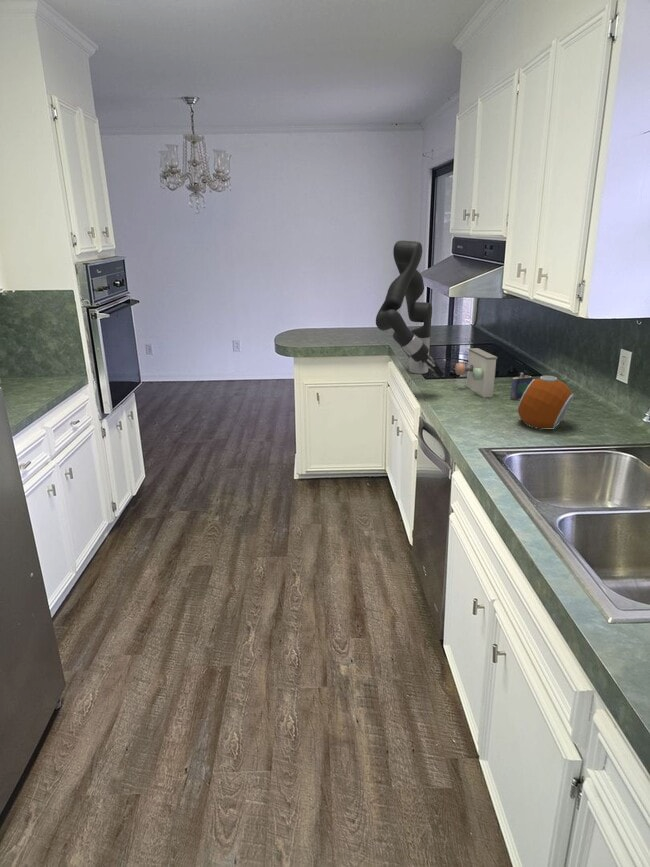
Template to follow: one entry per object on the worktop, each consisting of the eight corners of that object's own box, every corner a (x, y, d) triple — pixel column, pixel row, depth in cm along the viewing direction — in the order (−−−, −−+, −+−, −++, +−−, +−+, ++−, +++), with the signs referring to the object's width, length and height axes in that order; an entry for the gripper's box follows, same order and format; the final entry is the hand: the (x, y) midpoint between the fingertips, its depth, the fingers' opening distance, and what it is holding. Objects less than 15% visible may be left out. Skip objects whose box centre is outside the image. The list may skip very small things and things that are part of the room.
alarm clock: (525, 413, 221) (531, 368, 215) (574, 421, 211) (581, 374, 205) (509, 426, 206) (514, 379, 200) (560, 436, 196) (567, 386, 190)
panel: (465, 385, 258) (468, 348, 252) (474, 385, 259) (477, 348, 253) (483, 397, 240) (487, 357, 235) (493, 397, 241) (497, 357, 235)
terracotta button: (454, 373, 253) (455, 362, 251) (473, 372, 254) (474, 361, 253) (459, 376, 248) (460, 364, 247) (477, 375, 250) (478, 363, 248)
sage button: (471, 378, 244) (472, 366, 243) (490, 377, 246) (491, 366, 244) (476, 381, 240) (477, 369, 238) (496, 380, 241) (497, 368, 239)
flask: (512, 400, 237) (515, 374, 233) (507, 398, 239) (510, 373, 236) (531, 398, 240) (534, 372, 236) (526, 396, 242) (529, 371, 239)
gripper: (427, 344, 228) (454, 372, 234) (416, 337, 240) (442, 365, 247) (413, 358, 229) (441, 386, 235) (403, 351, 241) (429, 378, 248)
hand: (441, 375), depth 241 cm, fingers closed
